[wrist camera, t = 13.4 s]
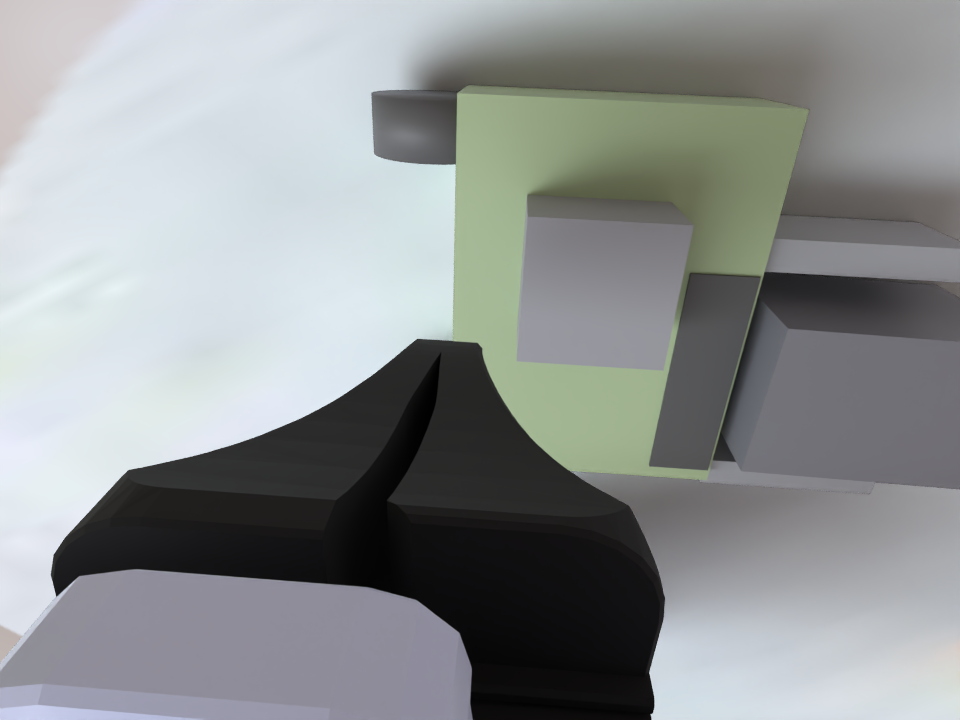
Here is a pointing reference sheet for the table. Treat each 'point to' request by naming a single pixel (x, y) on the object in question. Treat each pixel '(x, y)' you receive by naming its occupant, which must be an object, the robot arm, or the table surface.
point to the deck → (611, 161)
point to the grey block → (849, 382)
